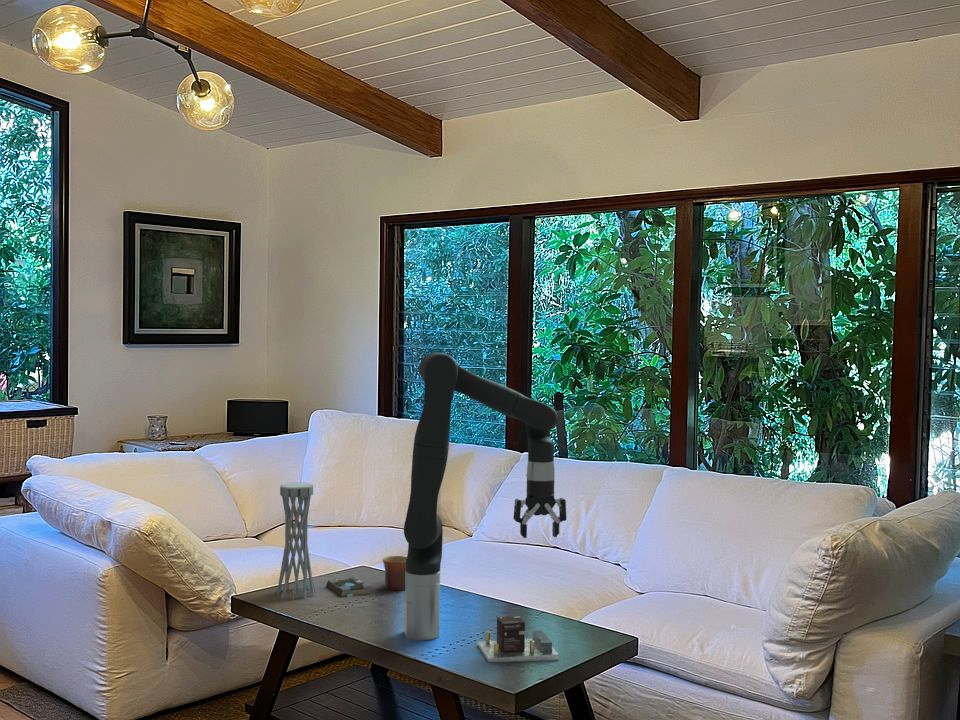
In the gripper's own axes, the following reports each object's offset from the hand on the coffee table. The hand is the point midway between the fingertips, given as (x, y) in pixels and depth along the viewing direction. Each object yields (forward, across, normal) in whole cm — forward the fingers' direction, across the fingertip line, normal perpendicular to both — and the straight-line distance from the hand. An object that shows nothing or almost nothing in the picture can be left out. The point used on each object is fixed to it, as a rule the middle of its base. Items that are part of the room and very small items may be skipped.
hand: (539, 537), depth 262 cm
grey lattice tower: (+26, -64, +42) cm, 81 cm away
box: (+25, -12, -16) cm, 32 cm away
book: (+27, -47, +44) cm, 69 cm away
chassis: (+26, -10, -16) cm, 32 cm away
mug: (+26, -33, +49) cm, 64 cm away
